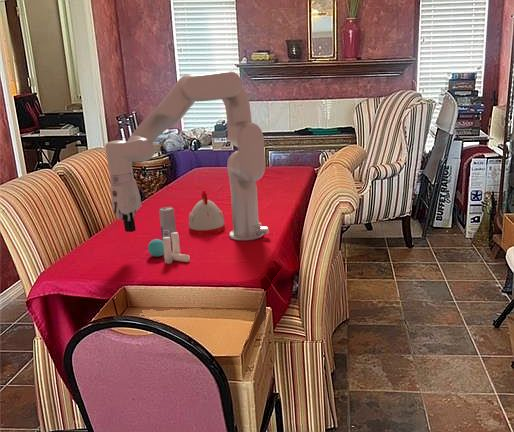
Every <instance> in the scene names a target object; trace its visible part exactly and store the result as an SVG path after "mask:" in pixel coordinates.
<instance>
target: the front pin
mask: <svg viewBox="0 0 514 432" xmlns="http://www.w3.org/2000/svg"><path fill="white" fill-rule="evenodd" d="M163 258H164V260H165V256H164V255H163ZM190 259H191V258H190V255H189V254H183V253H180V254H176V253H173V252H172V261H176V262H184V263H189V261H190Z"/></svg>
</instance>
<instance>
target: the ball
mask: <svg viewBox="0 0 514 432" xmlns="http://www.w3.org/2000/svg"><path fill="white" fill-rule="evenodd" d="M147 249H148V250H147V251H148V253H149V254H150V255H151V256H152V257H156V258H158V257H162V255H163V256H164V246H163V240H162V239H159V238H154V239H152V240H151V241H150V242H149V243H148V246H147Z"/></svg>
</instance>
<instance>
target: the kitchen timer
mask: <svg viewBox="0 0 514 432" xmlns="http://www.w3.org/2000/svg"><path fill="white" fill-rule="evenodd" d="M188 215H189V216H188V231H189V233H192V234H194V235H195V234H196V235H211V234H216V233H219V232H222V231H223V230H225V226H226V225H225V220H224V215H223V211H222V210H221V209H220V208H219V206H217V204H215V202H213V201H212V200H210V199H209V198H208V194H207V192H206V191H205V190H203V191H202V193H201V200H199V201H198V202H197V203H196V204H195V205H194V207H193V208H192V210H191V211H190V212H189V214H188Z"/></svg>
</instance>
